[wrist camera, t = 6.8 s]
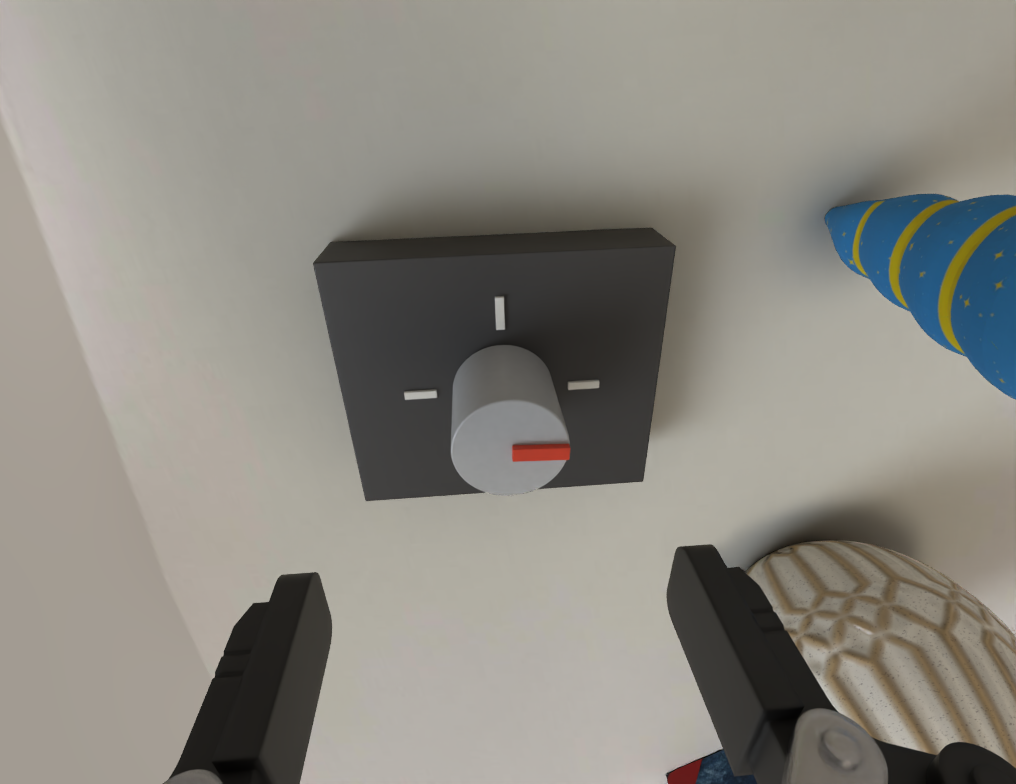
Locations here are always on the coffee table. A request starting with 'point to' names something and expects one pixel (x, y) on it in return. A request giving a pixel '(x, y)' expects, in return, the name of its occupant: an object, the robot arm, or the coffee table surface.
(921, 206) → the ornament
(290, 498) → the coffee table surface
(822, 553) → the vase
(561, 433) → the control knob
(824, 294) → the coffee table surface
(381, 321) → the rotary dial panel
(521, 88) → the coffee table surface
